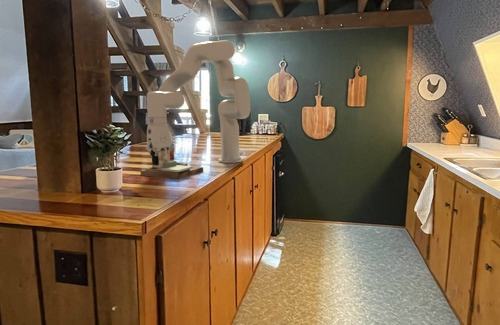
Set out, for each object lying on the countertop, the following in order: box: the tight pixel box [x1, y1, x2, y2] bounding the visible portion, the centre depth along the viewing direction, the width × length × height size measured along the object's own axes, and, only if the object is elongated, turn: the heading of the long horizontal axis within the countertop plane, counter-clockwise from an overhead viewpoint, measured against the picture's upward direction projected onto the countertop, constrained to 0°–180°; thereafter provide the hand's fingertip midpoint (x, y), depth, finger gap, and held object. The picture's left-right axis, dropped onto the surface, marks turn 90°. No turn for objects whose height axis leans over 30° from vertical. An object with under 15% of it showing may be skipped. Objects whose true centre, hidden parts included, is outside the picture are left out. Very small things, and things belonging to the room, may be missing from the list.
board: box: [139, 162, 204, 180], centre depth 157 cm, size 18×20×3 cm
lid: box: [162, 160, 193, 172], centre depth 149 cm, size 9×9×3 cm
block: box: [151, 150, 167, 168], centre depth 154 cm, size 4×4×7 cm
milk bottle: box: [158, 124, 175, 162], centre depth 177 cm, size 8×8×20 cm
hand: (159, 163), depth 154 cm, fingers closed on block, 4 cm apart
